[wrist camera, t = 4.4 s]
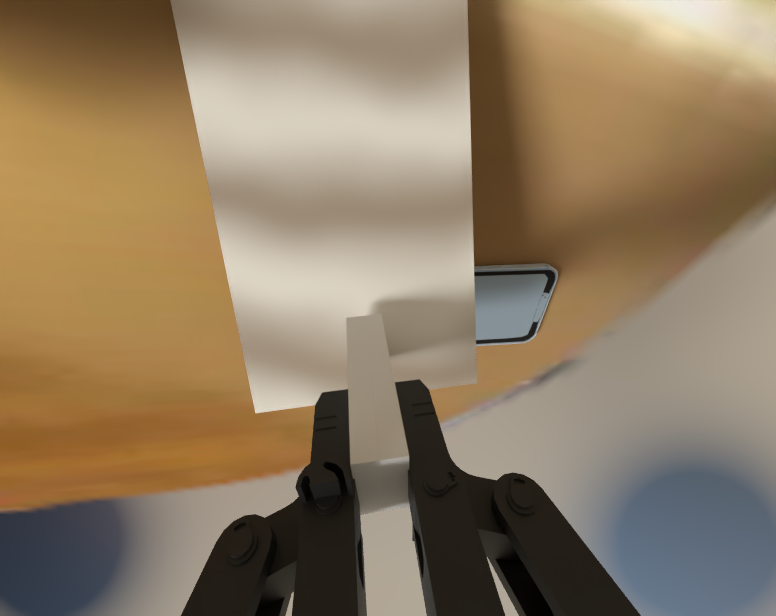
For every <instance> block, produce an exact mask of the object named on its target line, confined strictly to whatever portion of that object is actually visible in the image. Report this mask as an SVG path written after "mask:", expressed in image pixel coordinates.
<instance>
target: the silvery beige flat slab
mask: <svg viewBox="0 0 776 616" xmlns="http://www.w3.org/2000/svg"><path fill="white" fill-rule="evenodd" d="M170 1H171V6H172V11H173V16H174V21H175V26H176V30H177V35H178V40H179V45H180V50H181V55H182V59H183V64H184V69H185V74H186V79H187V84H188V89H189V93H190V98H191V103H192V108H193V113H194V118H195V122H196V127H197V132H198V137H199V142H200V147H201V151H202V156H203V161H204V166H205V171H206V176H207V180H208V185H209V190H210V195H211V200H212V205H213V210H214V214H215V219H216V224H217V229H218V234H219V239H220V243H221V248H222V253H223V258H224V263H225V268H226V272H227V277H228V282H229V287H230V292H231V297H232V301H233V306H234V311H235V316H236V321H237V326H238V331H239V335H240V340H241V345H242V350H243V355H244V360H245V364H246V369H247V374H248V379H249V384H250V389H251V393H252V398H253V403H254V408H255V413H261V412H268V411H275V410H283V409H290V408H297V407H305V406H312V405H315V404H316V403H317V401H318V399H319V397H320V395H321V394H322V392H329V391H337V390H345V389H348V365H347V329H346V318H348V317H358V316H367V315H376V314H381V315H382V320H383V326H384V331H385V336H386V341H387V346H388V351H389V356H390V361H391V366H392V371H393V376H394V381H395V382H401V381H409V380H417V379H420V380H421V381H422V382H423V383H424V385H425V386H426V387H427V388H428V389H437V388H444V387H451V386H459V385H466V384H473V383H477V364H476V324H475V283H474V243H473V203H472V163H471V122H470V82H469V42H468V2H467V0H170Z"/></svg>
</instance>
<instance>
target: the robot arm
mask: <svg viewBox="0 0 776 616" xmlns="http://www.w3.org/2000/svg"><path fill="white" fill-rule="evenodd" d="M346 329H347V365H348V389H345V390H337V391H329V392H322V394H321V395H320V397H319V399H318V401H317V403H316V404H315V415H314V427H313V439H312V451H311V463H310V464H309V465H308V466H306V467H305V468H304V470H303V471H302V473H301V474H300V475H299V477H298V480H297V484H296V490H297V492H298V495H299V497H298V498H297V499H296V500H295V501H294V502H293V503H291V504H290V505H288V506H287V507H285V508H283V509H281V510H279V511H277V512H275V513H273V514H272V515H270V516H268V517H266V518H264V517H261V516H258V515H256V514H255V515H246V516H243V517H241V518H239V519H237V520H236V521H234V522H232V523H231V524H230V525H229V526H228V527H227V528H226V529H225V530H224V531H223V533H222V534H221V536H220V537H219V539H218V540H217V542H216V544H215V546H214V548H213V550H212V552H211V554H210V556H209V559H208V561H207V562H206V565H205V567H204V569H203V571H202V573H201V575H200V577H199V579H198V581H197V583H196V586H195V587H194V590H193V592H192V594H191V596H190V598H189V600H188V602H187V604H186V606H185V608H184V610H183V612H182V615H181V616H285V615H286V611H287V607H288V604H289V600H290V597H291V593H292V592H294V599H293V609H292V616H367V611H366V593H365V576H364V556H363V538H362V534H361V522H360V515H362V514H368V513H375V512H381V511H386V510H393V509H399V508H406V507H410V510H411V516H412V521H413V541H415V547H416V553H417V559H418V565H419V571H420V577H421V583H422V589H423V595H424V601H425V607H426V613H427V616H505V613H504V610H503V607H502V604H501V601H500V598H499V595H498V592H497V588H496V585H495V582H494V579H493V576H492V573H491V570H490V567H489V564H488V561H487V557H488V559H489V560H490V562H491V564H492V566H493V567H494V569H495V572H496V573H497V575H498V577H499V579H500V581H501V583H502V584H503V587H504V588H505V590H506V592H507V594H508V596H509V598H510V600H511V601H512V603H513V605H514V607H515V609H516V611H517V613H518V614H519V616H640V614H639V613H638V612H637V610H636V609H635V608H634V607H633V605H632V604H631V602H630V601H629V600H628V599H627V597H626V596H625V595H624V593H623V592H622V591H621V590H620V588H619V587H618V586H617V584H616V583H615V582H614V581H613V579H612V578H611V577H610V575H609V574H608V573H607V572H606V570H605V569H604V568H603V566H602V565H601V564H600V563H599V561H598V560H597V559H596V557H595V556H594V555H593V554H592V552H591V551H590V550H589V548H588V547H587V546H586V545H585V543H584V542H583V541H582V539H581V538H580V537H579V536H578V534H577V533H576V532H575V531H574V529H573V528H572V526H571V525H570V524H569V523H568V521H567V520H566V519H565V518H564V516H563V515H562V514H561V512H560V511H559V510H558V508H557V507H556V506H555V505H554V503H553V502H552V501H551V500H550V498H549V497H548V496H547V494H546V493H545V492H544V490H543V489H542V488H541V487H540V486H539V485H538V484H537V483H536V482H535V481H534V480H532V479H530V478H529V477H527V476H525V475H522V474H517V473H509V474H504V475H503V476H501V477H500V478H499V479H498V480H492V479H486V478H481V477H476V476H473V475H470V474H467V473H466V472H464V471H462V470H461V469H460V468H459V467H457V466H456V465H455V463H454V462H453V461H452V459H451V458H450V455H449V453H448V450H447V447H446V444H445V441H444V437H443V434H442V431H441V428H440V424H439V421H438V418H437V415H436V412H435V408H434V405H433V403H432V399H431V395H430V392H429V389H428V388H427V387H426V386H425V385H424V383H423V382H422V381H421V380H420V379H417V380H409V381H401V382H395V381H394V376H393V371H392V366H391V361H390V356H389V351H388V346H387V341H386V336H385V331H384V326H383V320H382V315H381V314H376V315H367V316H358V317H348V318H346ZM384 505H385V506H384Z"/></svg>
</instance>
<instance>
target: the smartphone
mask: <svg viewBox="0 0 776 616" xmlns="http://www.w3.org/2000/svg"><path fill="white" fill-rule="evenodd" d="M557 279H558V272H557V271H556V269H554V268H553V267H552V266H551V265H549V264H546V263H542V264H516V265H491V266H474V283H475V324H476V346H484V345H501V344H518V343H526V342H528V341H530V340H532V339H533V338H534V337H535V335H536V334H537V331H538V329H539V326H540V323H541V321H542V318H543V316H544V313H545V310H546V308H547V305H548V302H549V300H550V297H551V295H552V292H553V289H554V287H555V284H556V281H557Z"/></svg>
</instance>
